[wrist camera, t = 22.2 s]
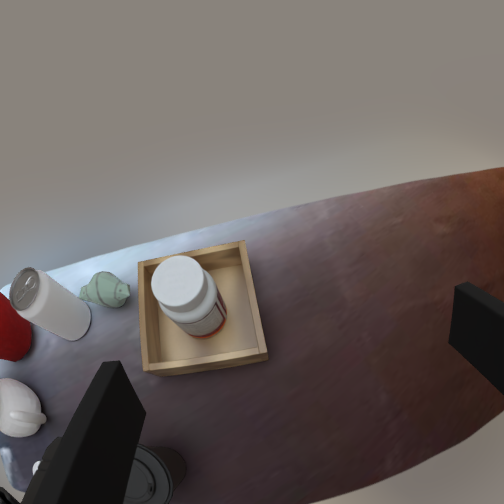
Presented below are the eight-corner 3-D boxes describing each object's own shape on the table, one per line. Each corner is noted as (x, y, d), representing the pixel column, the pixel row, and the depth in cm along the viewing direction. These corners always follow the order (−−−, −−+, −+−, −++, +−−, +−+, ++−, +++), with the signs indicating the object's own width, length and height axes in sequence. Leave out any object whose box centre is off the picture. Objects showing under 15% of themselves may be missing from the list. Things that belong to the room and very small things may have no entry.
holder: (248, 260, 41) (244, 239, 37) (268, 360, 35) (267, 352, 30) (152, 279, 41) (137, 262, 37) (160, 376, 35) (142, 371, 30)
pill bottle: (188, 289, 39) (158, 245, 29) (233, 298, 38) (217, 254, 28) (174, 333, 36) (136, 302, 27) (221, 345, 35) (198, 318, 25)
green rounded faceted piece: (95, 315, 39) (69, 297, 33) (98, 288, 41) (74, 268, 35) (144, 313, 39) (122, 294, 33) (146, 285, 41) (125, 263, 35)
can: (99, 323, 38) (47, 290, 28) (69, 350, 37) (14, 324, 26) (81, 292, 41) (33, 254, 31) (54, 317, 39) (3, 286, 29)
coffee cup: (207, 488, 27) (183, 512, 19) (148, 499, 26) (110, 519, 18) (183, 429, 31) (150, 434, 22) (126, 443, 30) (82, 448, 22)
